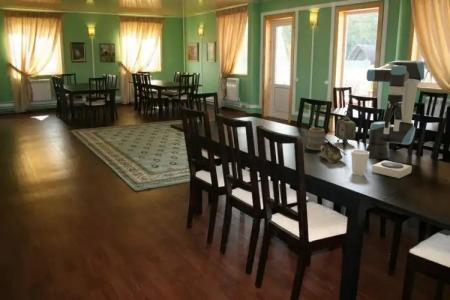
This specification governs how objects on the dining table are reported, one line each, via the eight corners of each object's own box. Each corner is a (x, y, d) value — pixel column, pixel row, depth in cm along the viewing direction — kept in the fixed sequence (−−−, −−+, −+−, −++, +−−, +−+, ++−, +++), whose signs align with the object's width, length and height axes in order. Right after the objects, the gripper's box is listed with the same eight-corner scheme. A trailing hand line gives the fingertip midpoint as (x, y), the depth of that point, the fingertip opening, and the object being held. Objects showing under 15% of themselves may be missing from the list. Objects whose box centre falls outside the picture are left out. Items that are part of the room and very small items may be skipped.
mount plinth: (371, 171, 226) (372, 164, 225) (384, 166, 237) (384, 159, 236) (399, 178, 215) (400, 170, 214) (411, 172, 226) (412, 165, 225)
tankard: (326, 150, 277) (327, 129, 273) (308, 150, 277) (309, 129, 273) (320, 144, 296) (321, 124, 293) (303, 143, 296) (304, 124, 293)
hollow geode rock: (324, 160, 269) (310, 144, 267) (339, 147, 266) (324, 131, 265) (333, 170, 241) (317, 153, 240) (349, 157, 239) (333, 139, 237)
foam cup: (367, 172, 224) (369, 150, 221) (367, 177, 216) (369, 154, 213) (349, 170, 227) (351, 149, 224) (349, 175, 219) (351, 152, 216)
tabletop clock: (334, 141, 305) (337, 109, 299) (345, 141, 307) (347, 109, 302) (344, 145, 292) (347, 112, 286) (355, 145, 294) (358, 112, 288)
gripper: (393, 95, 203) (388, 136, 208) (411, 93, 221) (406, 130, 225) (379, 94, 208) (375, 134, 213) (397, 92, 226) (393, 129, 230)
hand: (391, 132), depth 219 cm, fingers open, 13 cm apart
